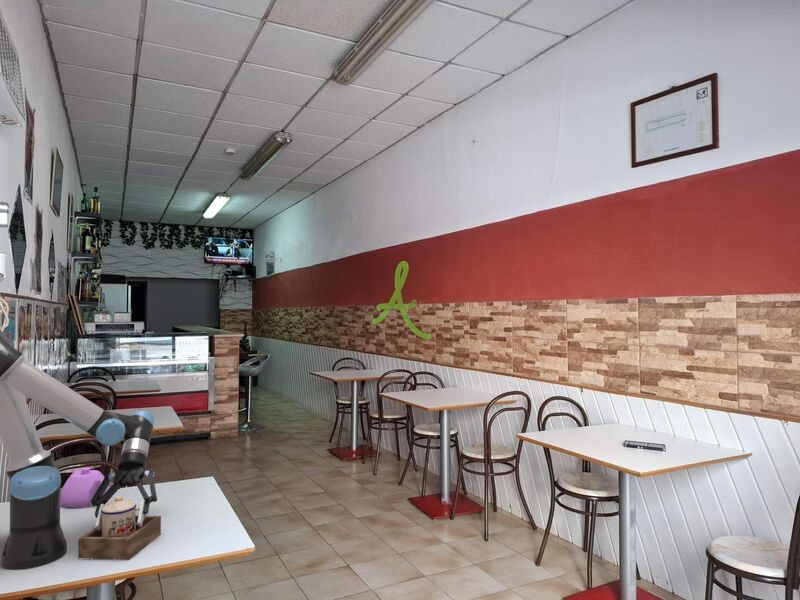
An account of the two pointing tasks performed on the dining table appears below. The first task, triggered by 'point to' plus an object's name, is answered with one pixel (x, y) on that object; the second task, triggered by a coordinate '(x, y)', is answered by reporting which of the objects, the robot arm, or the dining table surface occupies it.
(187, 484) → the dining table surface
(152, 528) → the walnut crate
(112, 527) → the teacup with lid
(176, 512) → the dining table surface
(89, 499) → the teapot
